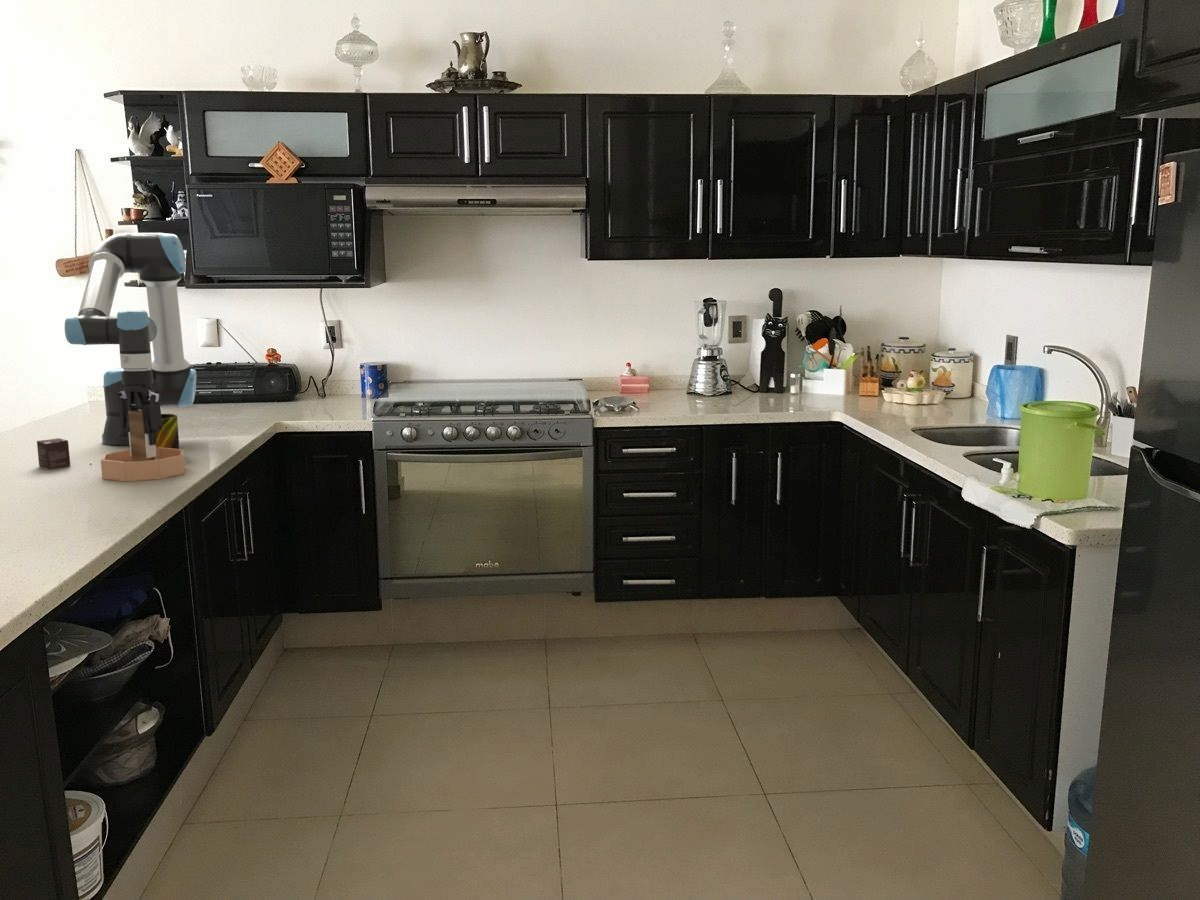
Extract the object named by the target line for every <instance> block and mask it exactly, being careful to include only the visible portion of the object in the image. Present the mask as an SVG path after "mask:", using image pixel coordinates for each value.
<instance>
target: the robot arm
mask: <svg viewBox="0 0 1200 900" xmlns="http://www.w3.org/2000/svg"><path fill="white" fill-rule="evenodd" d="M183 248H184V247H183V245H182V242H181V240H180V238H179V237H178V236H177V235H176V234H174V233H164V232H120V233H117V234H113V235H111V236H109V237H108V238H106V239H104V240H103V241H102V242H100V243H99V244H98V245H97V246H96V247H95V248H94V249H93V251H92V252H91V253H90V256H89V259H88V263H87V265H88V266H87V267H88V269H89V275H88V278H87V281H86V285H85V288H84V292H83V294H82V295H83V296H82V299H81V303H80V307H79V309H78V314H77V315H73V316H69V317H67V318H66V319H65V320H64V335H65V339H66V341H67V342H68V343H69V344H70V345H82V346H93V345H95V346H96V345H118V346H119V347H118V348H119V357H120V358H119V359H120V360H119V361H120V367H119V368H113V369H109V370H106V372H104V374H103V385H102V388H103V393H104V403H105V404H104V405H105V414H106V415H105V416H106V418H105V423H104V427H103V433H102V435H101V441H102V444H104V445H108V446H109V445H110V446H129V449H130V456H132V454H131V441H130V428H129V416H128V411H134V410H141V412H143V414H144V423H145V427H146V431H147V432H145V447H146V458H151V457H155V456H156V444H157V441H156V440H157V439H156V432H157V431H160V430H162V420H161V414H162V409H161V408H180V407H189V406H191V405H192V404H194V401H195V397H196V392H197V391H196V389H197V371H196V369H193V368H191V363H190V362H189V361H188V360H186V358H185V356H184V355H185V353H184V344H183V335H182V324H181V315H180V305H179V295H178V294H179V292H178V283H179V282H180V281H181V280H182V274H184V273H186V270H187V265H186V264H187V263H186V257H185V252H184V249H183ZM126 273H127V274H128V273H131V274H138V276H139V280H140V281H141V282H142V283H143V284H145V287H146V289H145V290H146V296H147V297H146V298H147V307H148V312H147V311H146V310H142V309H137V310H136V309H135V310H134V309H129V310H120V311H119V310H118V311H117V314H116V315H112V316H111V311H112V307H113V303H114V299H115V296H116V295H115V294H116V292H117V287H118V283H119V280H120V279H121V278H122V277H123V276H124V275H125V274H126ZM151 342H152V350H153V361H152V352H151V351H152V350H151Z"/></svg>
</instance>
